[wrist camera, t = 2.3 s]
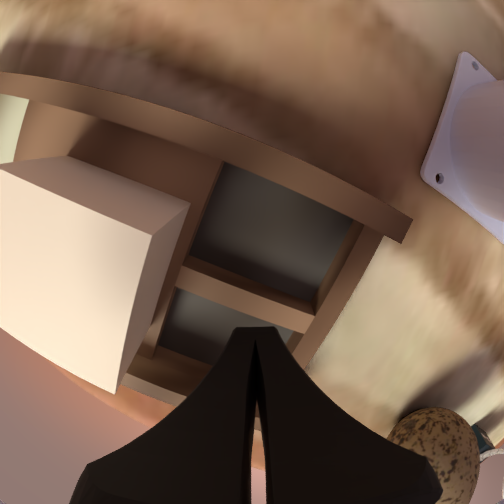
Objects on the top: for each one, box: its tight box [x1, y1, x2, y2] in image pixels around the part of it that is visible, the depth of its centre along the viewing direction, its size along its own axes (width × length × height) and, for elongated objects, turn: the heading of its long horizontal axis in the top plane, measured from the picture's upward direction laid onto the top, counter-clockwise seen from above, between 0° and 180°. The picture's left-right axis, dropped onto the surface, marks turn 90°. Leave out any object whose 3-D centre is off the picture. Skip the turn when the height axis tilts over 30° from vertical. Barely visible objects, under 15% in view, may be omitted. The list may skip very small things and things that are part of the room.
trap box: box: [0, 72, 413, 431], centre depth 11 cm, size 24×12×3 cm, turn 67°
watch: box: [471, 424, 504, 499], centre depth 15 cm, size 6×8×11 cm
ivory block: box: [0, 156, 191, 394], centre depth 9 cm, size 6×6×4 cm
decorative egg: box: [387, 407, 480, 504], centre depth 13 cm, size 7×7×10 cm
